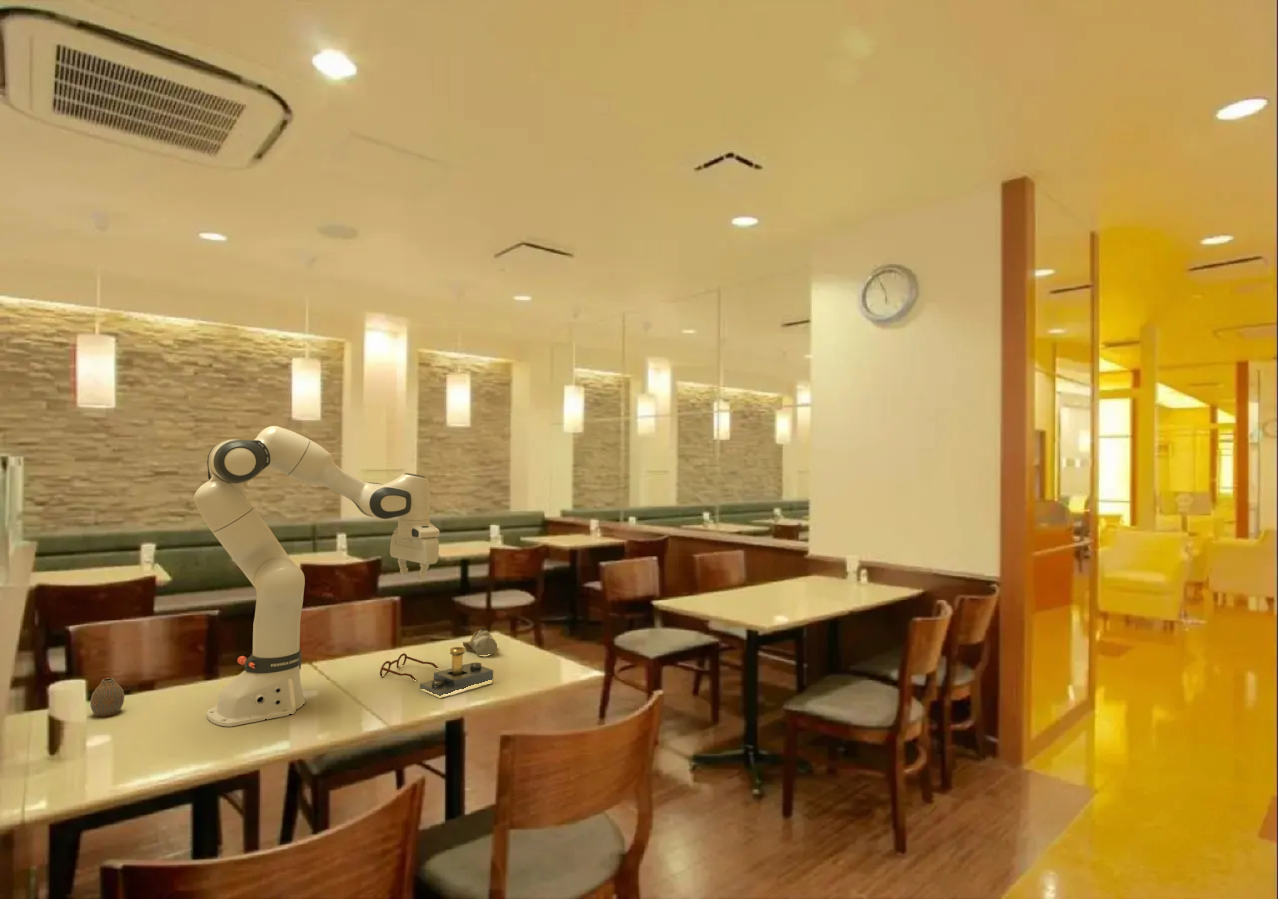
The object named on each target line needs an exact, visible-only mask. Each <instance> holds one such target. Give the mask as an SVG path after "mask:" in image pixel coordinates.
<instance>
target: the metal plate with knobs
mask: <svg viewBox="0 0 1278 899" xmlns="http://www.w3.org/2000/svg"><path fill="white" fill-rule="evenodd" d="M492 679H493V680H494V669H491V668H489V667H485V666H483V665H482V663H481V662H471V663H467V664H463V665H462V675H460V676H456V677H455V676H452V667H451V668H447V669H443V670H437V671H435V672H433V679H431V680H427V681H424V682H423V681H422V682H420V683H419V690H420V689H425V690H427V691H429V692H432V693H433V694H437V695H439V696H441V695H443V694H448V693H451V692H453V691H455V690H459V689H464V688H466V687H468V686H471V685H474V684H479V683H482V682H485V681H488V680H492Z"/></svg>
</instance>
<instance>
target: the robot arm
mask: <svg viewBox="0 0 1278 899" xmlns="http://www.w3.org/2000/svg"><path fill="white" fill-rule="evenodd" d="M206 461H207V463H206V464H207V478H208V480H207V481H206V482H205V483H203V484H202V485H200V486H199V487H198V489H197V490H196V491H195V492H194V495H193V503H194V504H195V507H196V509H197V510H198V513H199V514H200V516H201V518H202V520H203V521H204V523H205V524H206V526H207V527H208V528H209V530H210V532H212V534H213V535H214V537H215V538H216V539H217V540H218V542H219V543H220V545H222V547H223V549H224V550H225V552H227V554H228V555H229V557H230V558H232V560H233V562H235V564H236V565H237V566H238V569H240V570H241V571H242V572H243V574H244V575H245V577H246V578H247V579H248V580H249V582H250V583H251V585H252V586H253V587H254V589H255V591H256V600H255V608H254V609H255V612H254V618H253V624H252V626H253V628H252V630H253V631H252V653H251V654H250V656H248V657H246V656H244V655H241V656H238V658H237V663H238V664H240V665H241V666H244V670H243V671H242V672H240V673H239V674H238V675H237V676H236V677H234V679H232V680H231V681H230V682H229V683H227V684H226V685H225V686H224V687H223V688H222V689H221V691H220V692H219V695H218V701H217V705H216V706H214V707H211V708H209V709H208V710H207V713H206V718H207V719H208V721H210V722H211V723H213V724H214V725H218V726H222V727H235V726H239V725H244V724H250V723H255V722H260V721H266V720H265V719H267V720H271V719H276V718H281V717H286V716H290V715H289V714H292V715H293V714H295V713H296V711H297V710H298V709H300V708H301V707H302V706H304V705H303V704H305V703H306V700H305V696H304V693H303V689H302V682H301V680H302V679H301V672H300V670H301V668H302V650H301V648H300V642H301V641H300V639H301V638H300V637H301V616H302V610H303V603H304V593H305V584H306V582H305V580H306V578H305V574H304V572H303V570H302V569H301V568H300V567H299V565H298V564H296V563H295V562H294V561H293V560H292V559H291V557H290V556H289V555H288V553H287V552H286V550H285V549H284V548H283V546H282V545H281V543H280V542H279V540H278V539H277V538H276V536H275V535H274V532H272V530H271V529H270V527H269V526H268V524H267V523H266V522H265V520H264V519H263V517H262V516H261V514H260V513H259V512H258V511H257V510H256V508H255V507H254V505H253V504H252V503H251V501H250V500H249V499H248V498H247V496H246V494H245V491H244V483H246V482H249V481H251V480H252V479H254V478H256V477H257V476H258V475H259V474H260V473H261V472H263V471H264V470H265V469H266V468H271V469H273V470H275V471H278V472H280V473H281V474H284V475H285V476H287V477H289V478H292V479H294V480H297V481H300V482H302V483H305V484H309V485H312V486H322V487H325V488H328V489H330V490H332V491H334V492H335V493H338V494H340V495H341V496H343V497H345V498H347V499H348V500H350V501H351V502H353V503H354V504H355V506H356V507H357V509H358V510H359V511H360V512H361V513H362V514H363V515H364V516H365V515H366V516H368V517H371V518H376V519H378V520H379V519H380V520H389V519H393V518H398V519H397V520H398V521H397V526H396V527H395V528H394V530H393V533H392V534H391V539H390V548H389V554H390V557H391V558H395V559H397V563H398V567H399V572H400V574H401V575H408V573H409V567H407V563H406V562H407V561H408V562H413V563H418V564H419V568H420V570H419V571H417V578H418V579H422V580H423V579H426V577H427V572H428V569H429V568H430V565H434V564H437V562H438V561H439V555H440V554H439V551H440V550H439V549H440V542H439V537H440V530H439V528H437V527H436V526H435V525H434V524H433V523H431V521H430V519H431V517H430V512H429V511H430V510H429V509H430V507H431V506H430V505H431V490H430V482H429V479H428V478H427V477H425V476H424V475H420V474H414V473H408V472H405V473H402V474H401V475H400V476H398V477H397V478H395V479H393V480H391V481H389V482H386V483H383V484H382V483H379V482H370V481H369V482H368V481H364V480H361V479H360V478H358V477H356V476H354V475H353V474H351V473H349V472H347V471H345V470H344V469H342V468H340V467H339V466H338V465H337V464H336V462H335V461H334V459H333V455H332V454H331V453H330V452H329V451H327V449H325V448H324V447H323V446H321V445H320V444H318V443H316V442H315V441H313V440H312V439H309V438H307V437H306V436H304V435H302V434H300V433H297V432H294V431H293V430H289V429H287V428H284V427H280V426H277V425H270V426H267V427H266V428H264V429H262V430H261V431H260V432H259V433H258V434H257V436H256V438H254V439H237V438H230V439H225V440H223V441H220V442H218V443H216V444H215V445H214V446H213V447H212V448H211V449H210V450H209V453H208V455H207V459H206ZM296 709H297V710H296Z"/></svg>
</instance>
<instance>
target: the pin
mask: <svg viewBox="0 0 1278 899" xmlns="http://www.w3.org/2000/svg"><path fill="white" fill-rule="evenodd" d="M449 650H450V651H449V652H450V655H451V668H452V676H455V677H456V676H460V675H462V665H464V664H463V660H464V657H463V656H464V654H465V650H466V648H465V647H464V646H454V647H451V648H449Z"/></svg>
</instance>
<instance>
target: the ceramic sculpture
mask: <svg viewBox="0 0 1278 899" xmlns="http://www.w3.org/2000/svg"><path fill="white" fill-rule="evenodd" d="M462 645H463V646H462V647H463V648H465V650H469V649H470V651H472V650H473V651H475V653H476V655H477V656H478V655H488V654H493V655H494V654H495V653H496V650H497V647H498V644H497V642H496V640H495V639H494V638H493V636H492V635H491V633H490V631H488V630H487V629H486V628H485V627H481V629H480V630H478V631H475V632H474V633H473V634H472V636H471V639H470V641H463V642H462Z"/></svg>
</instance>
